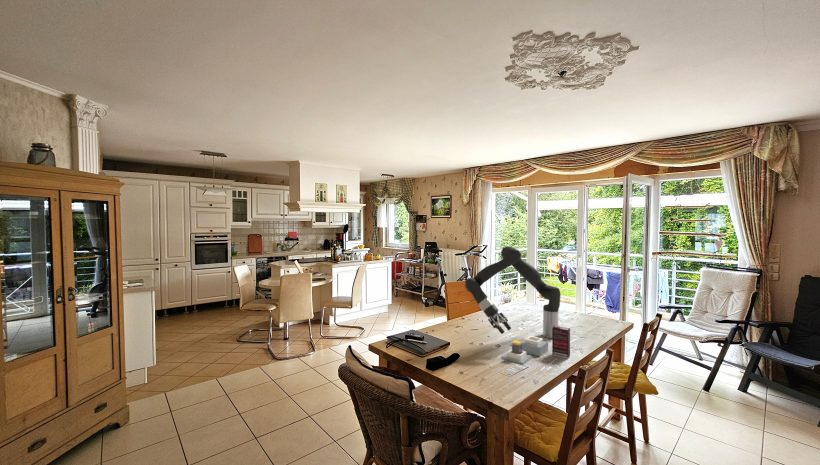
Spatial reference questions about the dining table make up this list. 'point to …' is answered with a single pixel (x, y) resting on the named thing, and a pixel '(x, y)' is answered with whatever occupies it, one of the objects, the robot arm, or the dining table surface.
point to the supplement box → (561, 341)
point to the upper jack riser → (534, 346)
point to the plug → (517, 347)
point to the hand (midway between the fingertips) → (506, 331)
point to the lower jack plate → (517, 357)
